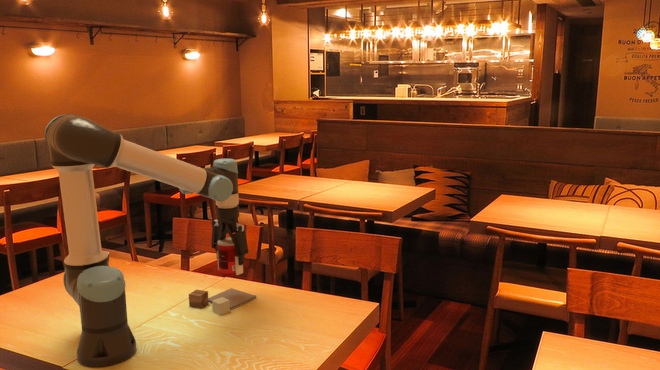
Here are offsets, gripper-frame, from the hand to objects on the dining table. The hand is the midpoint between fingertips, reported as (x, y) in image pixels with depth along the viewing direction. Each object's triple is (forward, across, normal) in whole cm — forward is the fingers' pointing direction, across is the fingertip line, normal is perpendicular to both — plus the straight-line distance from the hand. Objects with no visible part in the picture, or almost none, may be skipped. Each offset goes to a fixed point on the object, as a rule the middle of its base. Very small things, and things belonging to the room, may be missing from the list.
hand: (230, 271), depth 188 cm
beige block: (+10, -4, +9) cm, 14 cm away
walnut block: (+10, +6, +10) cm, 15 cm away
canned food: (0, 0, 0) cm, 0 cm away
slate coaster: (+10, 0, 0) cm, 10 cm away
